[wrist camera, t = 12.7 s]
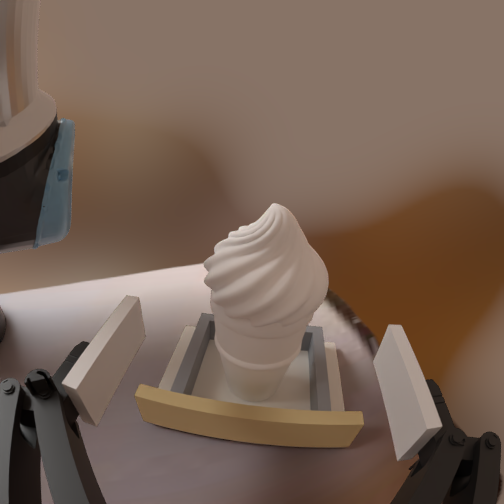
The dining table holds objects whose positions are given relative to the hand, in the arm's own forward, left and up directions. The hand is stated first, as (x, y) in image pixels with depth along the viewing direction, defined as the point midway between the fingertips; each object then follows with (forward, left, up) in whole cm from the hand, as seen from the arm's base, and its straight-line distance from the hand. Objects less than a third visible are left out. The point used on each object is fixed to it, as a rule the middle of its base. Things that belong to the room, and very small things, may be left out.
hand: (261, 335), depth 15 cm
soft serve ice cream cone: (-5, +3, -11) cm, 12 cm away
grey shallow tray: (-5, +3, -11) cm, 13 cm away
